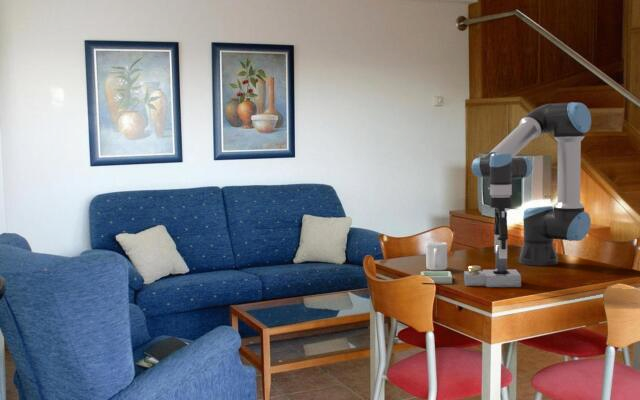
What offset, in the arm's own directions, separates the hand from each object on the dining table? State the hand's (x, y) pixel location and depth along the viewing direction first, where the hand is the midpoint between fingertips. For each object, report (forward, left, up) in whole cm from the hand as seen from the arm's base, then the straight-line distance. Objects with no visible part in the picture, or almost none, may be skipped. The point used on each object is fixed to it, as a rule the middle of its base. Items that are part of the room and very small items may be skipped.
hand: (500, 255), depth 273 cm
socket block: (+3, 0, -10) cm, 11 cm away
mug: (+22, -29, -11) cm, 38 cm away
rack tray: (+23, -6, -10) cm, 26 cm away
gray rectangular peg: (0, 0, -10) cm, 10 cm away
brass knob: (+9, 0, -9) cm, 13 cm away
